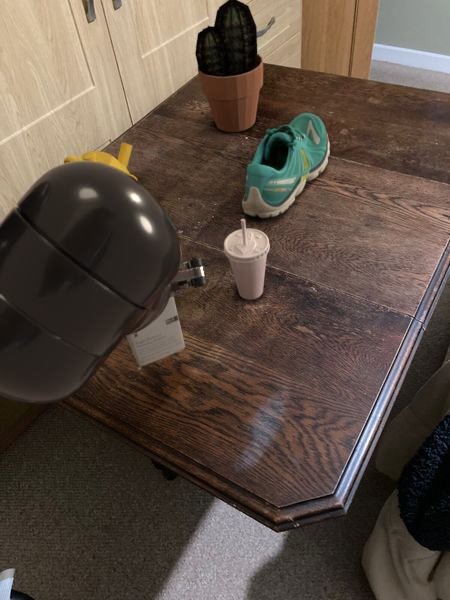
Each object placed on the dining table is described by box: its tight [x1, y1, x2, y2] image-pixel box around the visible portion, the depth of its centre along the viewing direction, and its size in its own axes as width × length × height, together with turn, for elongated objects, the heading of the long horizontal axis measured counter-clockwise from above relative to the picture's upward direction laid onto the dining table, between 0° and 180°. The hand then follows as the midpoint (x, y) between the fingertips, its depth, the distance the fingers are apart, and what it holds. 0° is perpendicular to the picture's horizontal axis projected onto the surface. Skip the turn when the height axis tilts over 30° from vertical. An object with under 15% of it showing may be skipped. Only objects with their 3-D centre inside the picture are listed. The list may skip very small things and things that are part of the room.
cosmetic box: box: [126, 296, 186, 367], centre depth 55 cm, size 6×4×12 cm
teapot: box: [63, 142, 139, 182], centre depth 90 cm, size 14×14×11 cm
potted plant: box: [194, 0, 264, 133], centre depth 102 cm, size 14×14×25 cm
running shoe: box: [241, 112, 331, 219], centre depth 89 cm, size 11×29×11 cm, turn 155°
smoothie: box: [223, 218, 271, 301], centre depth 70 cm, size 6×6×14 cm
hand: (141, 287), depth 54 cm, fingers closed on cosmetic box, 6 cm apart
